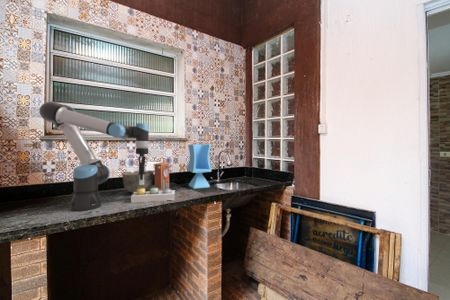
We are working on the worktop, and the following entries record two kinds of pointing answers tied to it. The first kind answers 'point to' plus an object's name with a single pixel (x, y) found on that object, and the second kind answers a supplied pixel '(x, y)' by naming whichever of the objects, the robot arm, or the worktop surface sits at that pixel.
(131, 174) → the bowl
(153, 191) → the button sage
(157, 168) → the cracker box
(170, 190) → the button blue
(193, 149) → the planter
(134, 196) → the console
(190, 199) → the worktop surface
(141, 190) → the button mustard
